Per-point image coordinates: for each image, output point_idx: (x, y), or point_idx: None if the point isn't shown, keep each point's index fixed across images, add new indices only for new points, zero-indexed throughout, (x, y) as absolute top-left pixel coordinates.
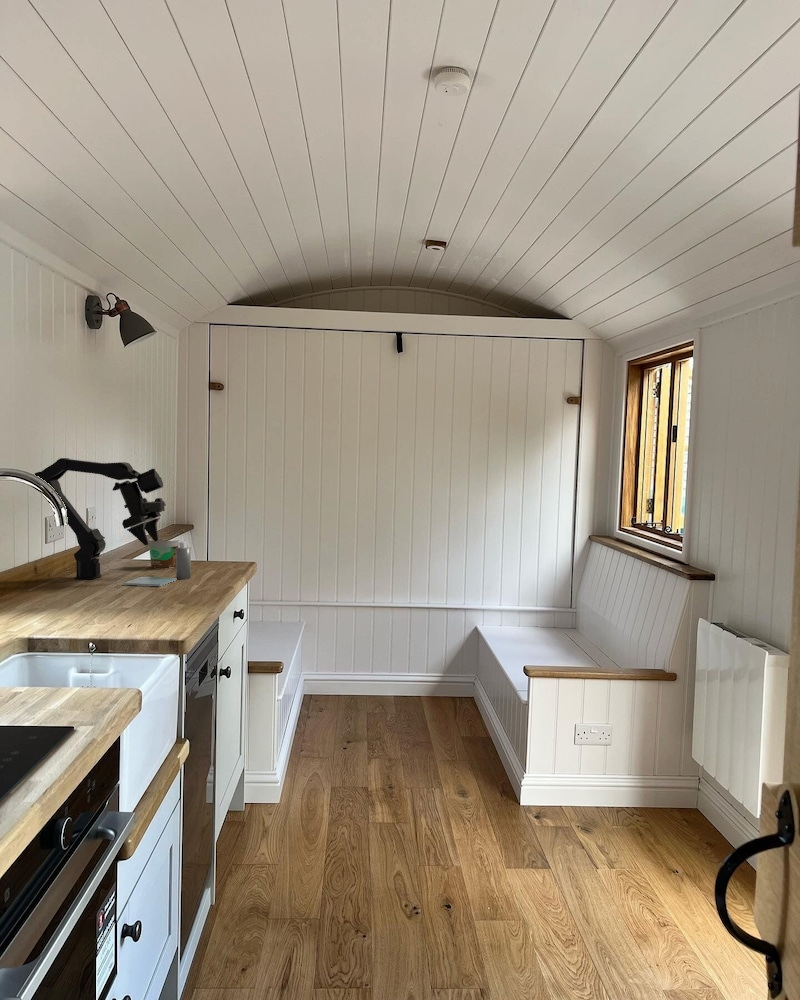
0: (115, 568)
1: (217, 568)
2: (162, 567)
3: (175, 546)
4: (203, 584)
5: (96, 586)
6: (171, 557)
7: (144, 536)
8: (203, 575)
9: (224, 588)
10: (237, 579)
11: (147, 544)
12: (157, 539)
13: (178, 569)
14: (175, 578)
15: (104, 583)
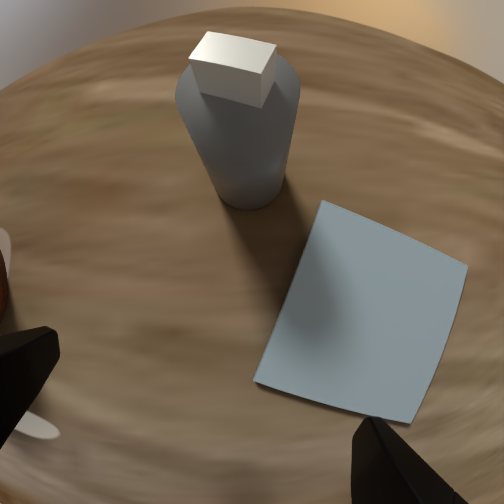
0: (12, 447)
1: (50, 93)
2: (4, 292)
3: None
4: (409, 106)
5: None
6: None
7: (439, 486)
8: None
9: (459, 68)
10: (303, 13)
11: (376, 420)
12: (51, 334)
13: (278, 181)
14: (335, 205)
15: (340, 492)
